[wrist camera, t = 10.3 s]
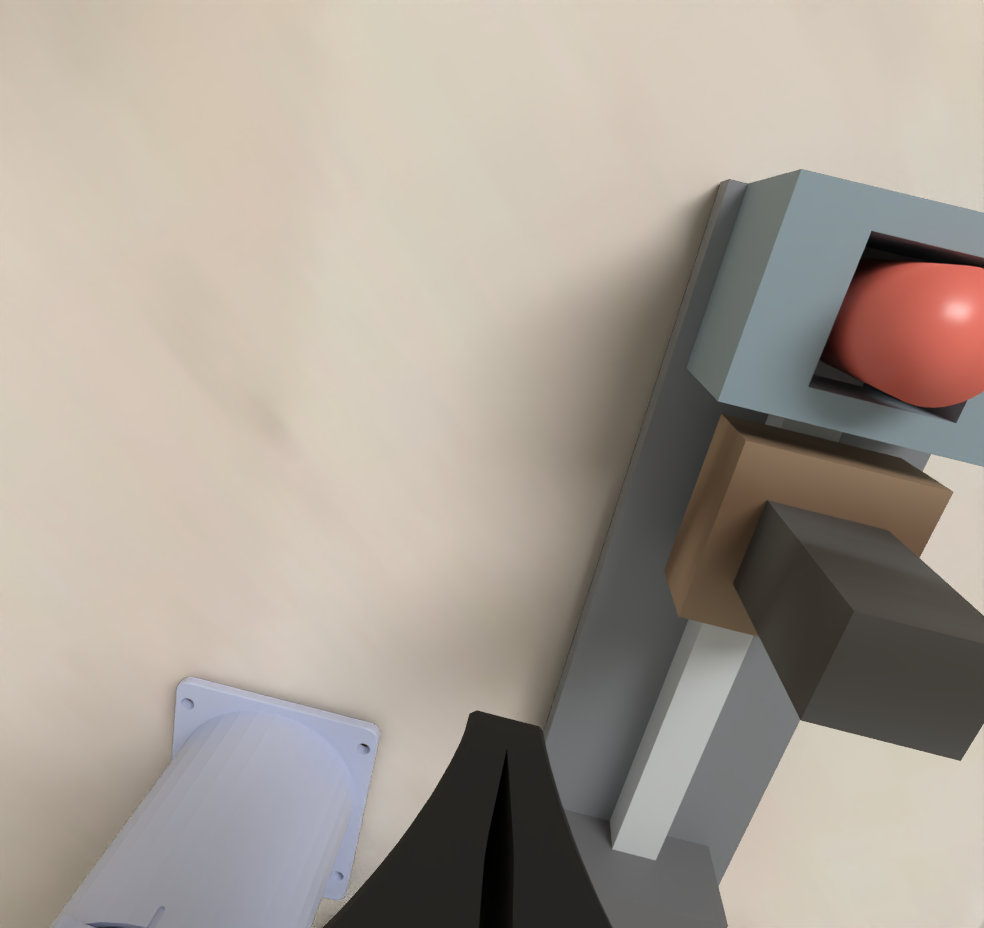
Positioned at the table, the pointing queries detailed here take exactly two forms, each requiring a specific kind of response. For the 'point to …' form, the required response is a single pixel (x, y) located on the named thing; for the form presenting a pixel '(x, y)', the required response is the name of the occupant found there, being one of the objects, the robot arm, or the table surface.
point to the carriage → (833, 583)
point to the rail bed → (660, 511)
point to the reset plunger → (912, 331)
